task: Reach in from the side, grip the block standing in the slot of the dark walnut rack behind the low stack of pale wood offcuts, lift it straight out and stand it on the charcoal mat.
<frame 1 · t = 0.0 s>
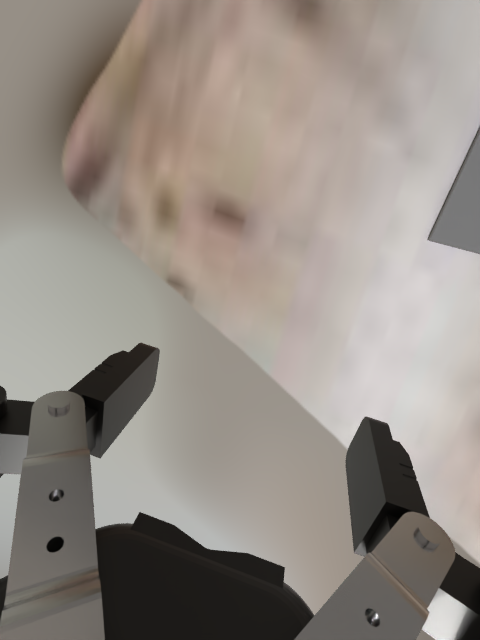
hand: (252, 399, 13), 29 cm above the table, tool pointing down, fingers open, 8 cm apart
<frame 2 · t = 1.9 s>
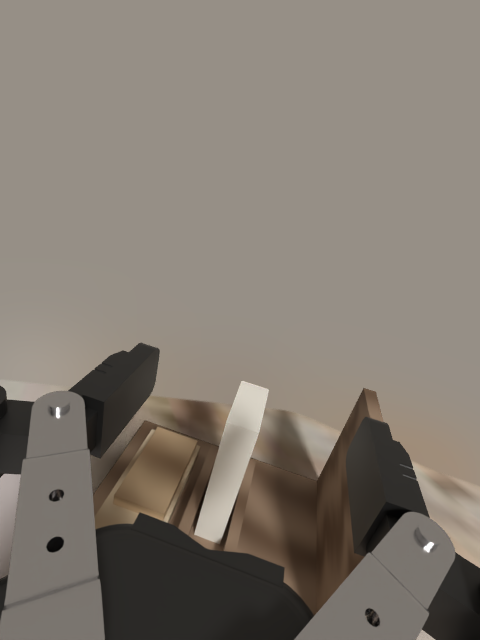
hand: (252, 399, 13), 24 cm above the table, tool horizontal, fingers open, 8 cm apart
rack: (213, 518, 33), on the table
block: (215, 512, 33), point 1 cm above the table, touching rack
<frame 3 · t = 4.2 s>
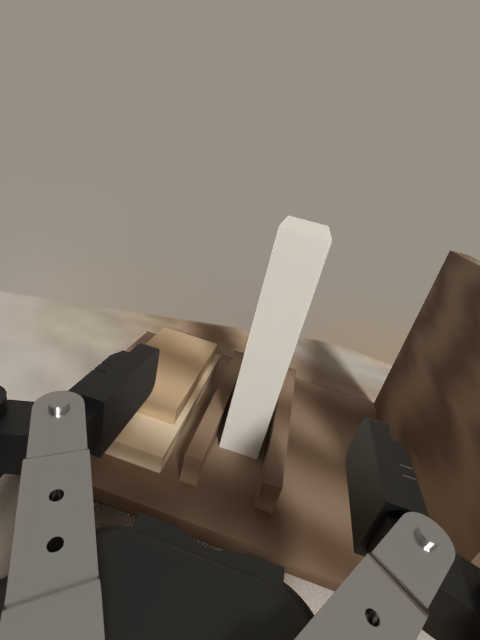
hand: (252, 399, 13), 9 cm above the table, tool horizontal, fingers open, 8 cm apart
rack: (243, 435, 24), on the table
block: (246, 424, 24), point 1 cm above the table, touching rack
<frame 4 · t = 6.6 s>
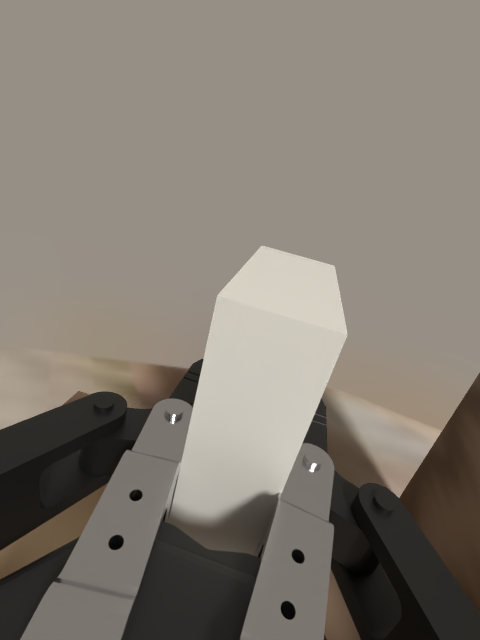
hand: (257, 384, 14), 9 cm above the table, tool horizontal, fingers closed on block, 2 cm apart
rack: (194, 591, 15), on the table
block: (198, 578, 15), point 1 cm above the table, touching gripper, rack
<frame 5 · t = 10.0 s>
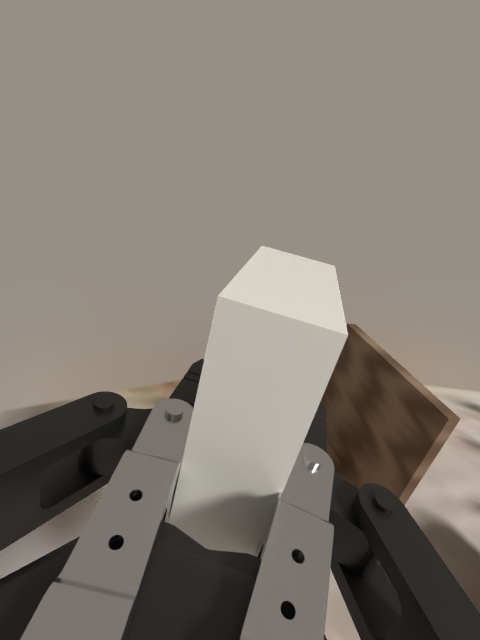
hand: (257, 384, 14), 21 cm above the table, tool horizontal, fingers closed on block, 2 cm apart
rack: (255, 470, 36), on the table
block: (198, 578, 15), point 13 cm above the table, touching gripper
when the fingers open (10 cm above the table, at t = 13.0 s): block drops 1 cm, resting on mat.
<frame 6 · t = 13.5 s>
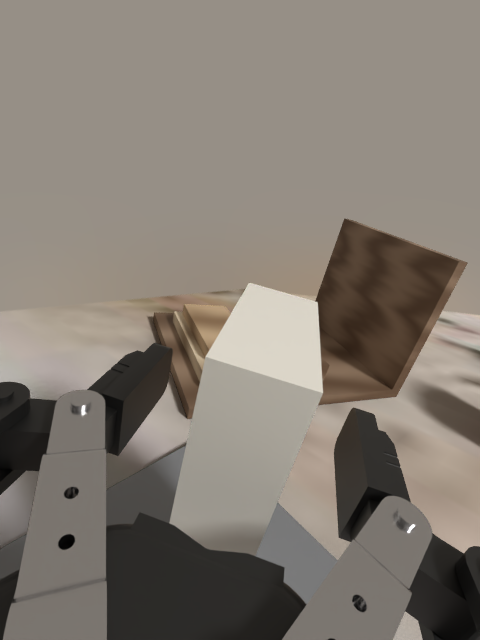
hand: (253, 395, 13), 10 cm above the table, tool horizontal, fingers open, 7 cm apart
mat: (189, 603, 15), on the table
rack: (270, 356, 37), on the table
block: (192, 593, 15), point 1 cm above the table, touching mat
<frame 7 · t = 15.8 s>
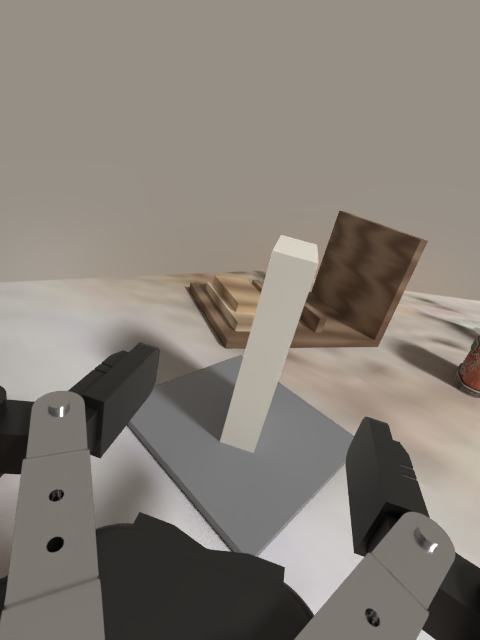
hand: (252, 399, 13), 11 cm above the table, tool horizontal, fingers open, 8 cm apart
lighter: (467, 383, 43), on the table
mat: (241, 428, 26), on the table
rack: (280, 317, 48), on the table
block: (243, 421, 26), point 1 cm above the table, touching mat
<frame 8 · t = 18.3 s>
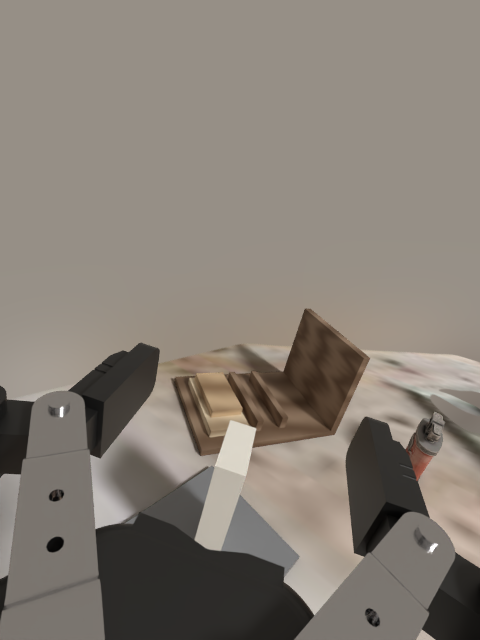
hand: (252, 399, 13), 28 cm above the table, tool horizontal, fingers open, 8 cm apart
lighter: (407, 470, 51), on the table
mat: (205, 549, 34), on the table
rack: (252, 407, 56), on the table
block: (207, 544, 34), point 1 cm above the table, touching mat
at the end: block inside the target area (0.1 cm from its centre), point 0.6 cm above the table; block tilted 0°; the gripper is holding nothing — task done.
